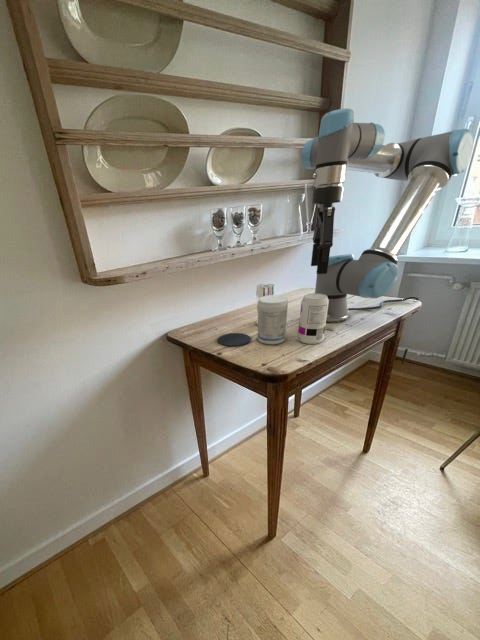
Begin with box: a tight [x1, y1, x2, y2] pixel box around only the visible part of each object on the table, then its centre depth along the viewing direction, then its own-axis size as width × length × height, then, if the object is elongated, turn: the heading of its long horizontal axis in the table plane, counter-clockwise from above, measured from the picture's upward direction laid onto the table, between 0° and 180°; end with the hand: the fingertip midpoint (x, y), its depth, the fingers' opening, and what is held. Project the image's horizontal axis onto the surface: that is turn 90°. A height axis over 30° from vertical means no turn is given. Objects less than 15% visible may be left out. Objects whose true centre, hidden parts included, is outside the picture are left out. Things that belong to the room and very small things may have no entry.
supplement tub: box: [257, 294, 289, 345], centre depth 102 cm, size 10×10×15 cm
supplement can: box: [297, 292, 329, 345], centre depth 99 cm, size 8×8×15 cm
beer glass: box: [255, 283, 275, 326], centre depth 117 cm, size 7×7×15 cm
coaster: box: [217, 332, 252, 347], centre depth 109 cm, size 12×12×1 cm
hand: (318, 269), depth 91 cm, fingers open, 13 cm apart
